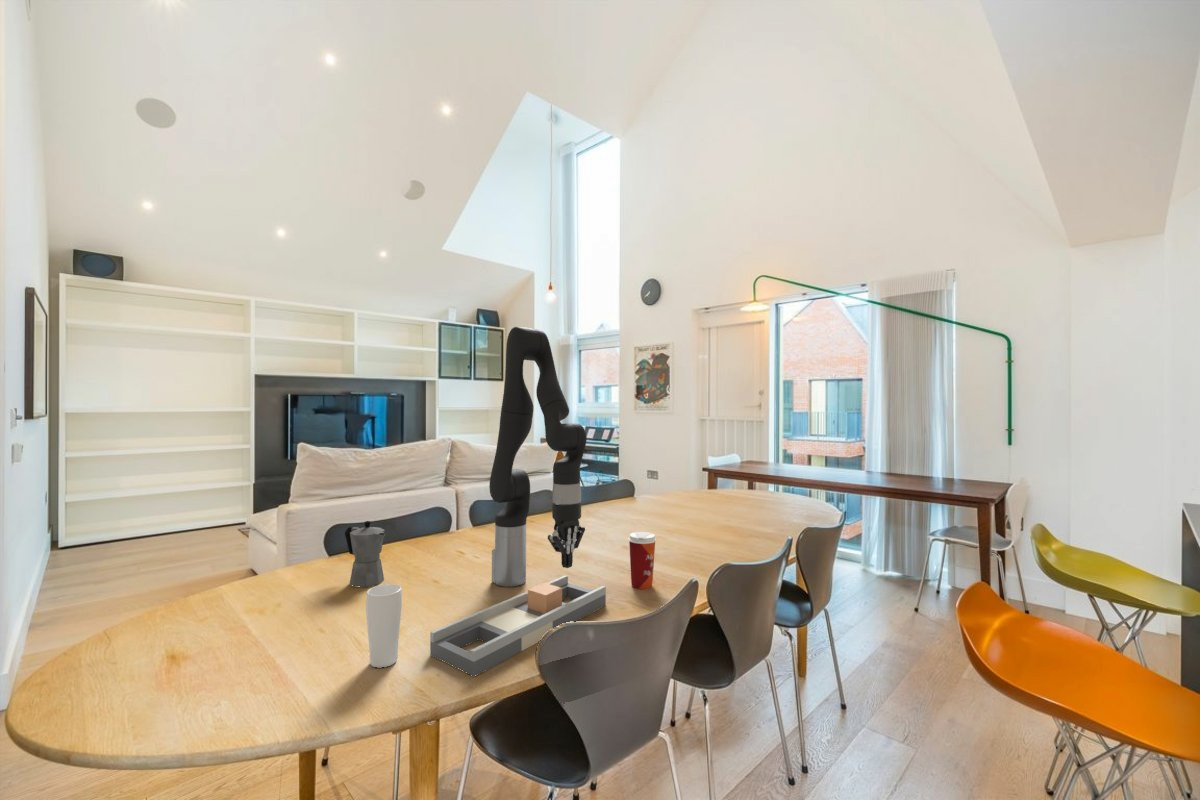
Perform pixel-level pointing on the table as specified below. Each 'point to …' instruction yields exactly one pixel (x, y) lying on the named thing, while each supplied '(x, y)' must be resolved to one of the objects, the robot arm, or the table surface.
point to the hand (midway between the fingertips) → (567, 567)
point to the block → (544, 598)
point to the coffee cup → (642, 559)
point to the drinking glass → (383, 623)
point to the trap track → (509, 627)
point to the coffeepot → (365, 554)
